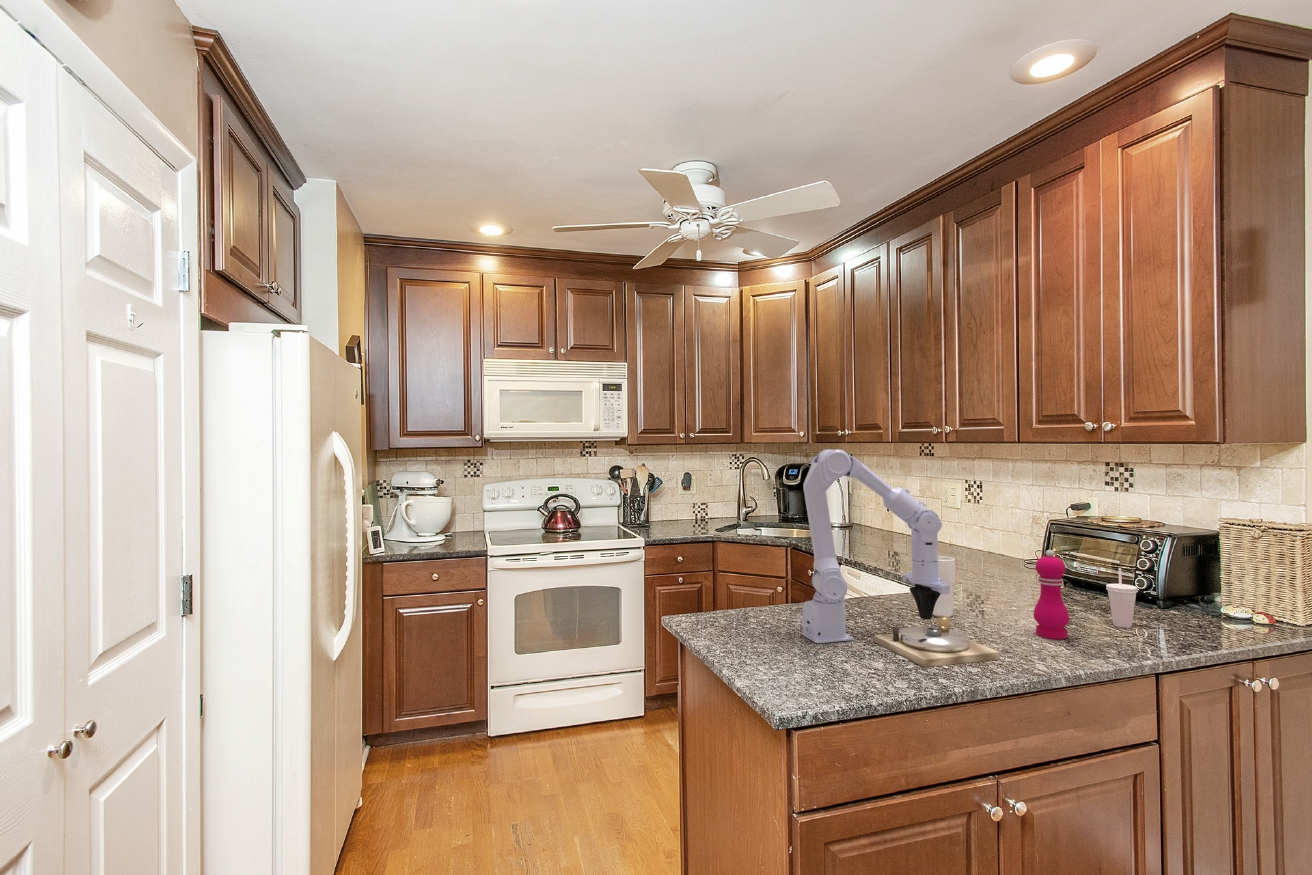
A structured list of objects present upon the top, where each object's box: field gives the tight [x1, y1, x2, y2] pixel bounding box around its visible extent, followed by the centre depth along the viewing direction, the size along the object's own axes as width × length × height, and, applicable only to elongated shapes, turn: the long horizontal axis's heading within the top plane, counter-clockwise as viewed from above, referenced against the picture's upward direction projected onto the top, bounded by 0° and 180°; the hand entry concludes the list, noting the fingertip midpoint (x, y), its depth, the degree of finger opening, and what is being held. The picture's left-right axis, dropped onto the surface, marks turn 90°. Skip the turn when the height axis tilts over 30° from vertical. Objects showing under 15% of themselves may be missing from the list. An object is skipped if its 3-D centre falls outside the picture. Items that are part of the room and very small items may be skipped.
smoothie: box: [1105, 567, 1139, 629], centre depth 162 cm, size 6×6×14 cm
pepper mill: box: [1033, 549, 1070, 640], centre depth 155 cm, size 7×7×20 cm
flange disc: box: [899, 616, 971, 652], centre depth 145 cm, size 14×14×4 cm
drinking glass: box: [932, 555, 956, 618], centre depth 174 cm, size 7×7×15 cm
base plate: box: [874, 626, 1001, 668], centre depth 145 cm, size 18×18×4 cm
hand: (925, 618), depth 155 cm, fingers closed
